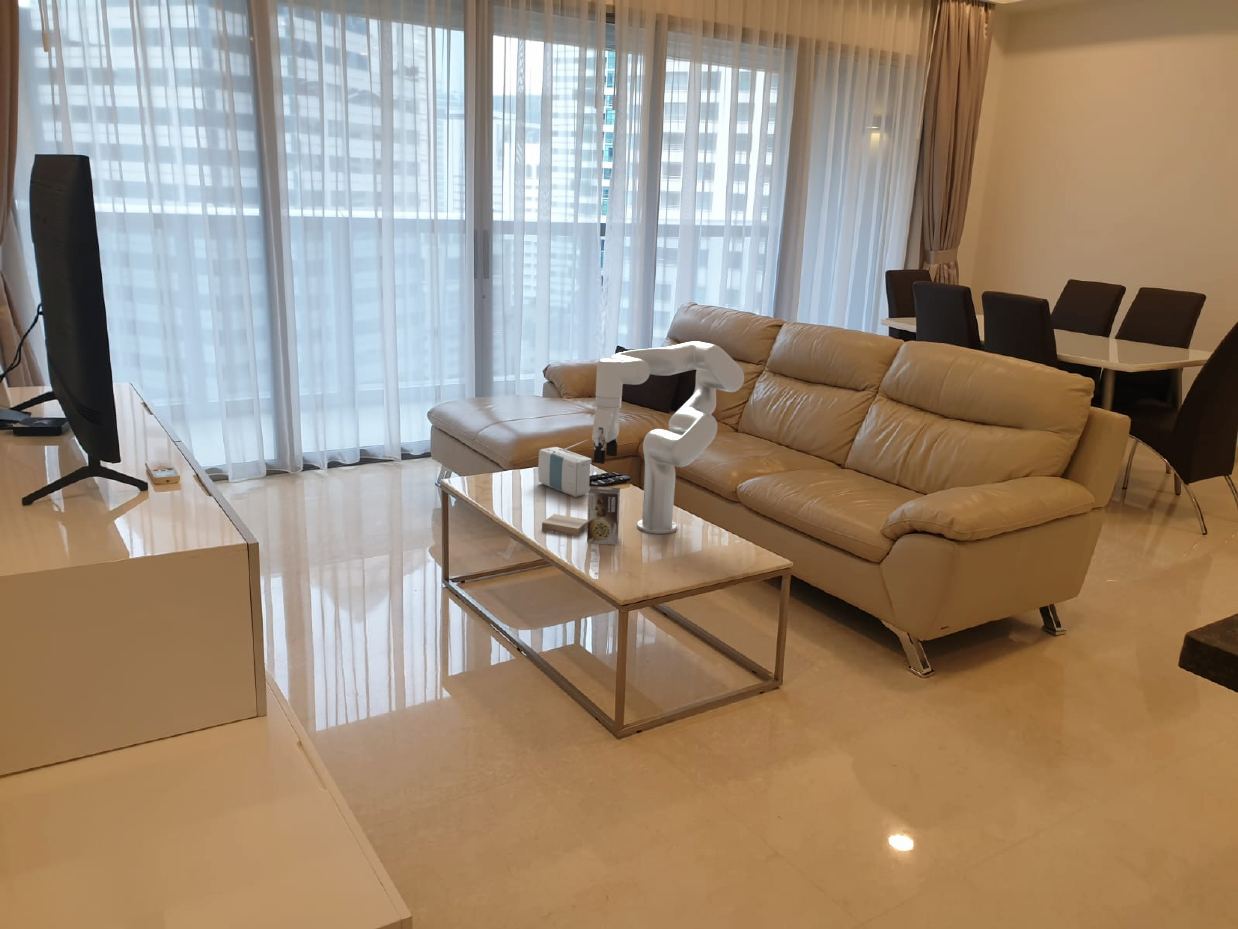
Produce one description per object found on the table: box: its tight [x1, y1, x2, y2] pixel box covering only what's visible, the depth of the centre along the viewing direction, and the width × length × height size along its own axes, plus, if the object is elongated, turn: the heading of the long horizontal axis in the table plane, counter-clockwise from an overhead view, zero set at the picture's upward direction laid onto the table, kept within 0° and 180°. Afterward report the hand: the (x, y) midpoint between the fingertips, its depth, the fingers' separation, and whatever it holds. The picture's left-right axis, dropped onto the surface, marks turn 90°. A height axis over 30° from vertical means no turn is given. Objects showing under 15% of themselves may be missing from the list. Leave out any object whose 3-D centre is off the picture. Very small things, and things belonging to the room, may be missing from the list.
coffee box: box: [586, 485, 621, 546], centre depth 269 cm, size 9×6×16 cm
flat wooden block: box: [541, 513, 588, 537], centre depth 280 cm, size 9×12×2 cm
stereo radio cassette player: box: [537, 438, 593, 498], centre depth 317 cm, size 21×8×20 cm, turn 42°
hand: (605, 459), depth 264 cm, fingers open, 9 cm apart
